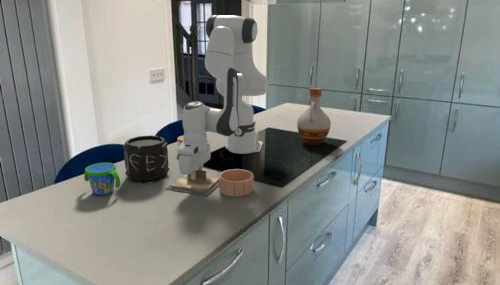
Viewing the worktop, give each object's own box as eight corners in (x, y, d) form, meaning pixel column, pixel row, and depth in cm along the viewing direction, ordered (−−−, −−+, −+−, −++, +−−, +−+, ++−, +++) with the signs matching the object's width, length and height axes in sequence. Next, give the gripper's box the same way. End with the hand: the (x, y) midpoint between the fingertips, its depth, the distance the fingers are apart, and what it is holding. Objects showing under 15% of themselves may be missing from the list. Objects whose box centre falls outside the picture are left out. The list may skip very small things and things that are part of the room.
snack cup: (128, 191, 143) (126, 166, 140) (106, 201, 134) (103, 175, 131) (101, 183, 150) (98, 159, 147) (78, 192, 141) (74, 167, 138)
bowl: (227, 181, 152) (227, 167, 151) (257, 185, 148) (257, 171, 146) (214, 193, 141) (213, 179, 139) (246, 199, 136) (246, 183, 135)
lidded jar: (195, 156, 181) (194, 138, 179) (174, 155, 183) (173, 136, 181) (202, 149, 191) (201, 132, 189) (182, 148, 193) (181, 131, 191)
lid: (189, 173, 159) (188, 162, 157) (221, 178, 154) (221, 167, 153) (170, 187, 145) (170, 175, 144) (205, 192, 141) (205, 180, 139)
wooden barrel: (124, 187, 146) (120, 149, 142) (126, 171, 163) (123, 136, 158) (171, 182, 151) (168, 145, 146) (168, 167, 168) (166, 133, 163)
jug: (326, 150, 191) (330, 92, 182) (292, 147, 196) (294, 90, 187) (331, 140, 208) (335, 86, 199) (299, 137, 214) (302, 84, 205)
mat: (187, 173, 161) (187, 172, 161) (226, 178, 155) (226, 177, 155) (165, 189, 144) (165, 188, 144) (207, 196, 139) (207, 195, 139)
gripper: (200, 136, 155) (201, 167, 159) (175, 150, 137) (177, 185, 141) (213, 137, 153) (214, 169, 157) (190, 152, 135) (192, 187, 139)
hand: (196, 177), depth 149 cm, fingers closed on lid, 3 cm apart
